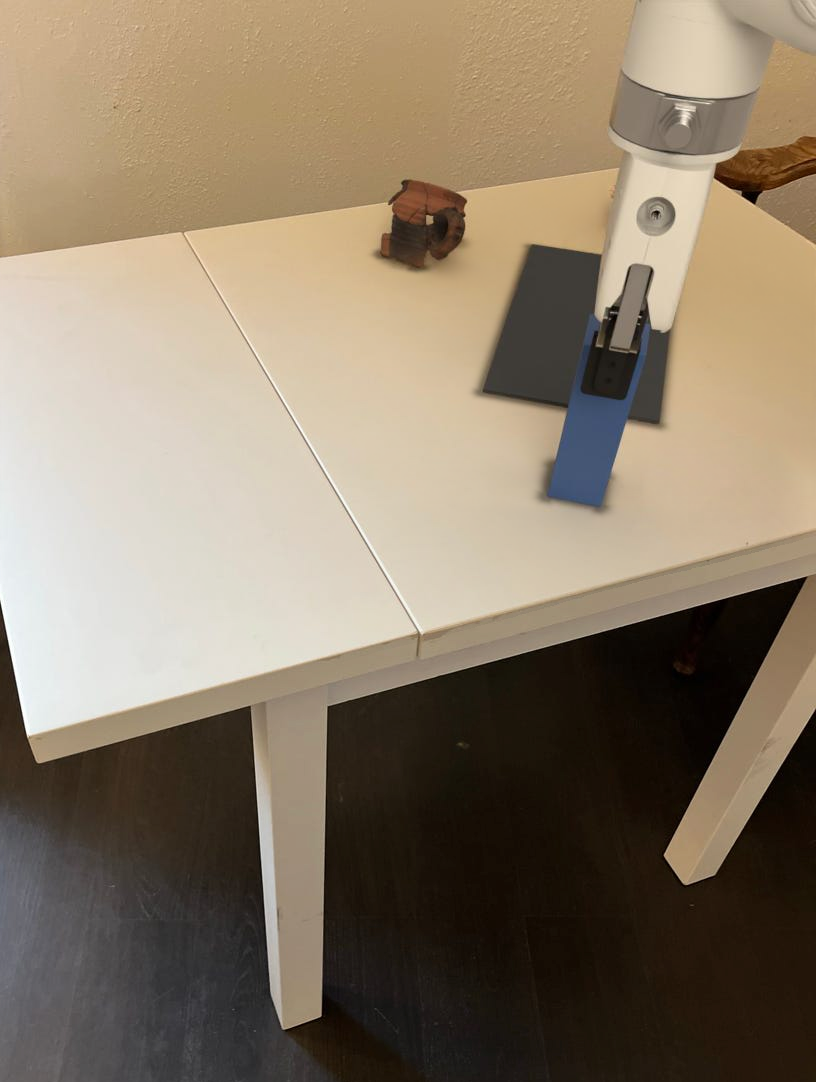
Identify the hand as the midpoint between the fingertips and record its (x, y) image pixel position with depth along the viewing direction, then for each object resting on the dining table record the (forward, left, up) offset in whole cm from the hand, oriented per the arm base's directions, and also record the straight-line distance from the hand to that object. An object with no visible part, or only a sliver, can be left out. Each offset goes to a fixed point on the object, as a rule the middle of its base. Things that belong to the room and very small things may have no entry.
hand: (603, 390), depth 67 cm
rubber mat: (+2, -30, -12) cm, 33 cm away
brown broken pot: (+21, -40, -12) cm, 47 cm away
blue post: (0, -4, -12) cm, 13 cm away
